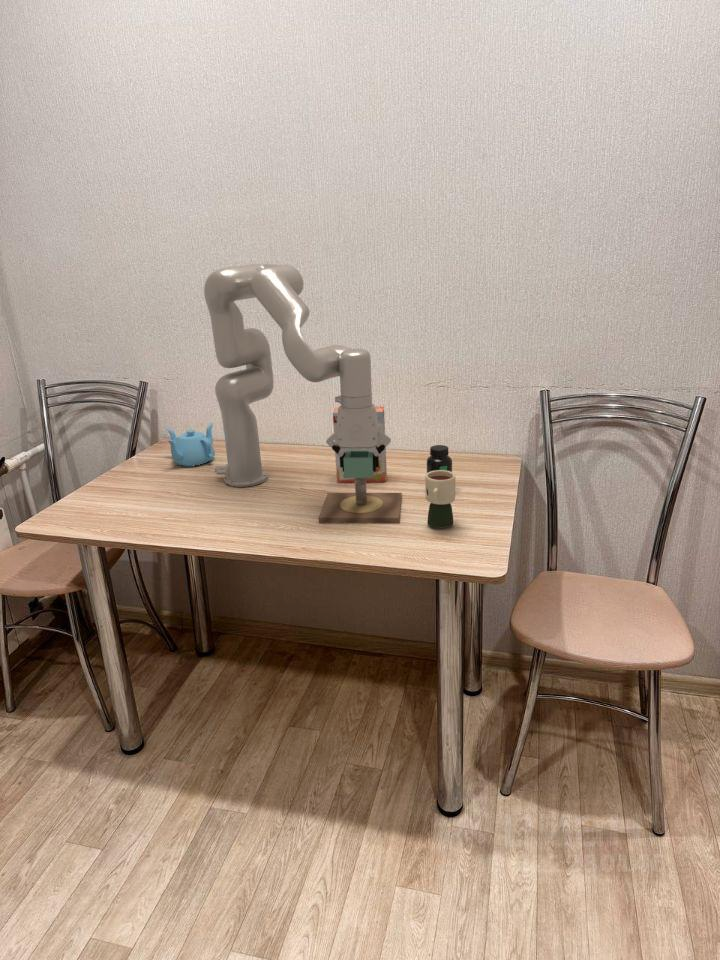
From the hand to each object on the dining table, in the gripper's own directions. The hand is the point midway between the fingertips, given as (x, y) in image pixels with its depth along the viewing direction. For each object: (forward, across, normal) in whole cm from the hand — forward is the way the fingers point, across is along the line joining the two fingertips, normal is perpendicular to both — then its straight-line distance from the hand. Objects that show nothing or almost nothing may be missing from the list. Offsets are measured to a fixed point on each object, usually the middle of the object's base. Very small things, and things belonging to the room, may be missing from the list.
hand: (359, 469), depth 174 cm
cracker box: (+11, -2, +22) cm, 25 cm away
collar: (+1, 0, 0) cm, 1 cm away
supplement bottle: (+11, +20, +14) cm, 27 cm away
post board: (+11, 0, 0) cm, 11 cm away
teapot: (+12, -58, +39) cm, 71 cm away
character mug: (+11, +20, -9) cm, 25 cm away
